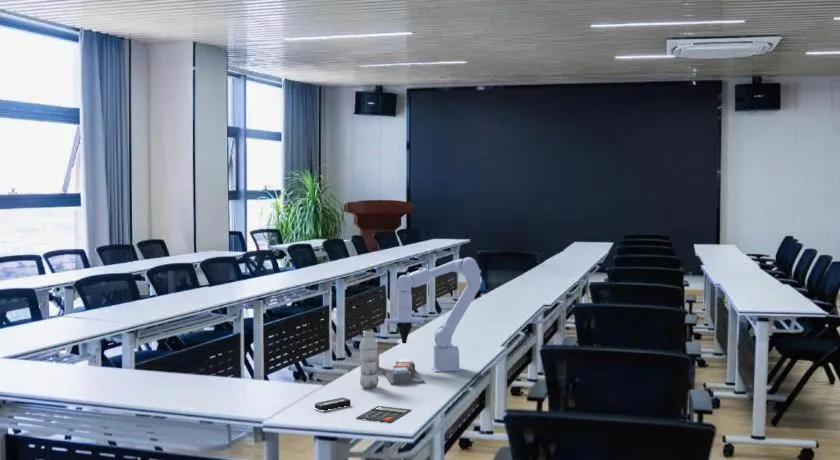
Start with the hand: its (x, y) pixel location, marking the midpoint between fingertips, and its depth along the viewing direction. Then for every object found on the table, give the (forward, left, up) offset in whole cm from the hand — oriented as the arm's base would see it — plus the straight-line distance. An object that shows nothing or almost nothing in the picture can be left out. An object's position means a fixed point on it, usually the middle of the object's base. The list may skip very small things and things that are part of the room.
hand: (404, 342), depth 317 cm
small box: (+12, -5, -11) cm, 17 cm away
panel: (+3, +12, -10) cm, 16 cm away
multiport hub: (+31, +47, -11) cm, 57 cm away
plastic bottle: (+17, +24, -11) cm, 31 cm away
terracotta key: (+3, +12, -8) cm, 15 cm away
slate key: (+5, +19, -8) cm, 21 cm away
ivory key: (+1, +5, -8) cm, 10 cm away
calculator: (+17, +59, -11) cm, 62 cm away
